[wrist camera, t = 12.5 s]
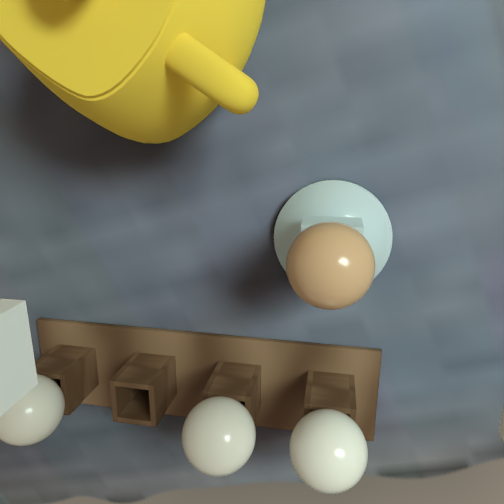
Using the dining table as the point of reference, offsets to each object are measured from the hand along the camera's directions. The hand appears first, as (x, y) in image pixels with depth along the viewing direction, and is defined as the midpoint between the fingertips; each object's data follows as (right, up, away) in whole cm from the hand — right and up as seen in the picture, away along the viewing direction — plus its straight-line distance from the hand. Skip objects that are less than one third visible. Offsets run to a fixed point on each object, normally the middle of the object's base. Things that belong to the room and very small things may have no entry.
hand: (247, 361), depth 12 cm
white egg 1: (-16, -8, +19) cm, 26 cm away
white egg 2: (-2, -9, +16) cm, 19 cm away
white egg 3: (+5, -9, +15) cm, 18 cm away
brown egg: (+4, +2, +12) cm, 13 cm away
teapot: (-6, +18, +17) cm, 26 cm away
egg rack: (-4, -7, +23) cm, 25 cm away
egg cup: (+6, +4, +19) cm, 20 cm away
